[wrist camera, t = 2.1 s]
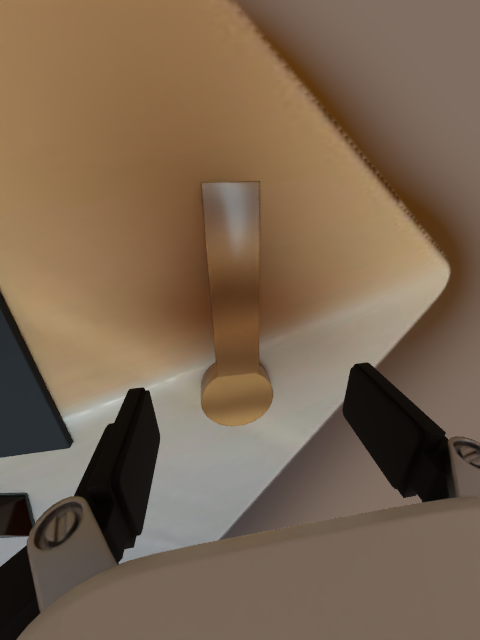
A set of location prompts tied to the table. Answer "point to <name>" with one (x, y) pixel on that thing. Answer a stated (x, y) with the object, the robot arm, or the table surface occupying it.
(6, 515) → the black block on plate
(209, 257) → the wooden disc with bar
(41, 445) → the mat
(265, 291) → the table surface
